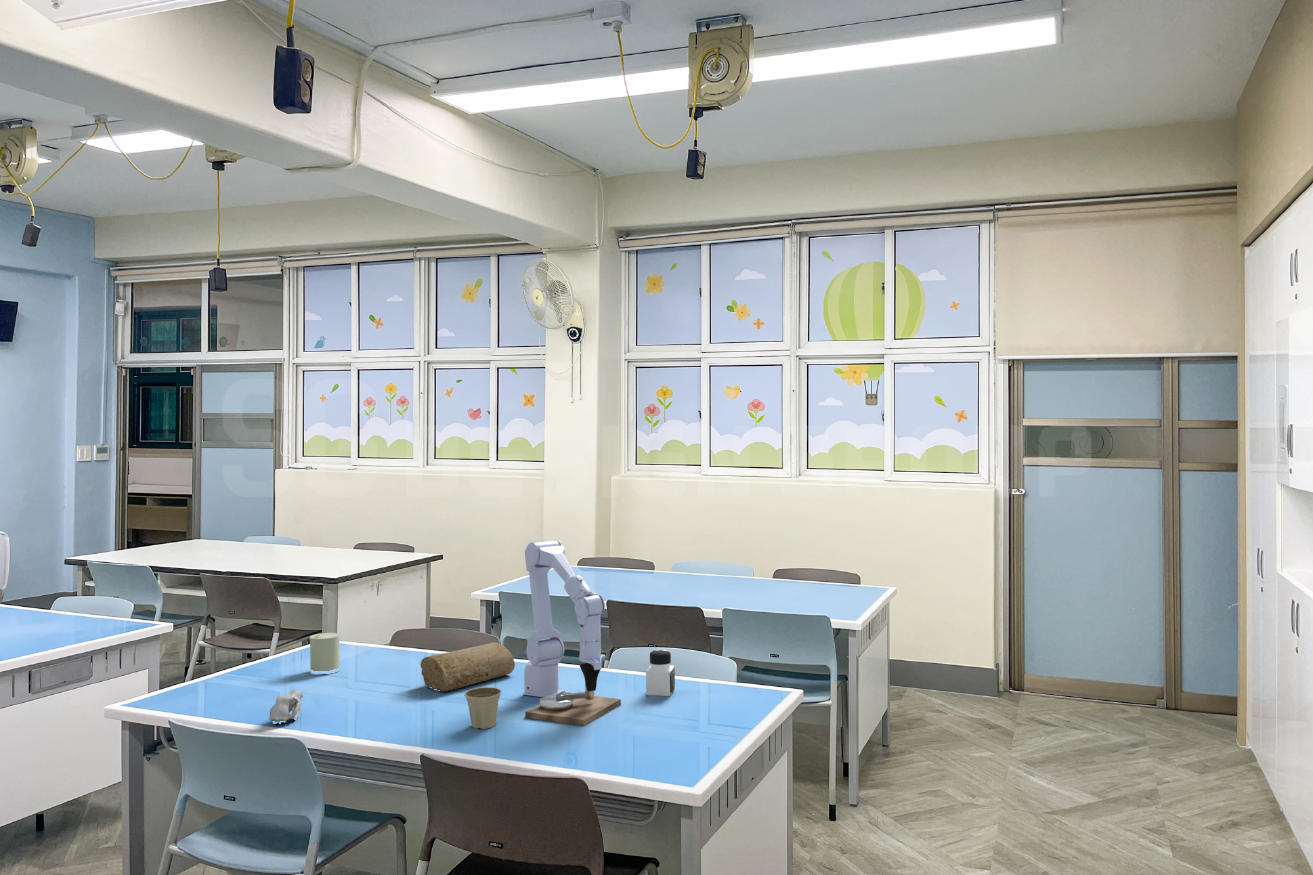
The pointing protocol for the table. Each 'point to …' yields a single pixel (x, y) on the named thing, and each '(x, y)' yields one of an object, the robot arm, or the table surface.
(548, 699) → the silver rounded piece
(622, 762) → the table surface
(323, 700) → the table surface
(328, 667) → the can
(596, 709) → the stand board
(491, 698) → the flower pot
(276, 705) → the skull
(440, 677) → the core sample
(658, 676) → the medicine bottle
